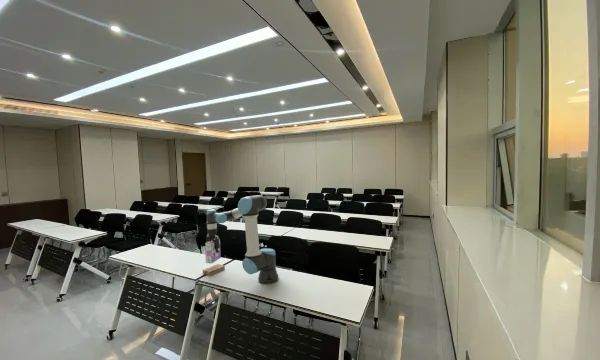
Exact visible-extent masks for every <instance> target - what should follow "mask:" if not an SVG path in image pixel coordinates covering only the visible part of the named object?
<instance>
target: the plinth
mask: <svg viewBox="0 0 600 360" xmlns="http://www.w3.org/2000/svg"><path fill="white" fill-rule="evenodd" d="M224 270H226V266H225V265H224V264H220V263H216V264H214V265H212V266H210V267H206V268H204V269H202V274H203V273H204V274H203V275H206V276H208V277H211V276H213V275H215V274H217V273H220V272H222V271H224Z"/></svg>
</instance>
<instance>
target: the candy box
mask: <svg viewBox="0 0 600 360" xmlns="http://www.w3.org/2000/svg"><path fill="white" fill-rule="evenodd" d="M214 240H215V239H214ZM219 244H220V245H221V239H220V238H219ZM204 247H205V249H204V251H205V263H206V264H214V263H215V262H217V261H218V260H219V259H221V255H222V253H221V247H220V248H218V256H217V257H215V250H214V249H215V246H214V242H213V241H209V242H207V243H206V242H205V244H204Z"/></svg>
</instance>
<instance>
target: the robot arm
mask: <svg viewBox="0 0 600 360" xmlns="http://www.w3.org/2000/svg"><path fill="white" fill-rule="evenodd" d="M267 202H268V200H267V199H266V198H265V197H264V196H263V195H261V194H259V195H258V194H257V195H249V196H245V197H244V196H243V197H242V198H240V200H239V201H238V203H237V208H234V209H231V210H229V211H223V212H217V210H216V209H207V211H206V229H207V231H206V232H207V234H206V235H205V239H206V241H205V243H207V242H209V241H213V242H214V246H215V249H214V250H215V257H217V256H218V248H220V249H221V243H220V244H219V239H220V236H219V235H217V232H218V228H217V227H218V225H217V223H219V224H224V223H226V222H227V221H232V220H233V221H234V220H237V219H239V218H241V217H242V218H243V219H244V230H245V241H246V253H245V254H244V257H245V258H244V259H243V260H242V264H241V265H242V269H243V270H244V272H245V273H247V274H248V275H253V274H257V273H258V272H259V273H258V277H257V279H258V282H259V283H260V284H266V285H269V284H273V283H276V282H278V281H279V273H278V271H277V268H276V266H277V265H276V263H277V261H276V250H275V249H273V248H261V249H260V242H259V241H260V239H259V228H258V216H259V215H260V213H259V212H260V211H263V210H265V208H266V207H267V205H268V204H267ZM214 239H215V240H214Z"/></svg>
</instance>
